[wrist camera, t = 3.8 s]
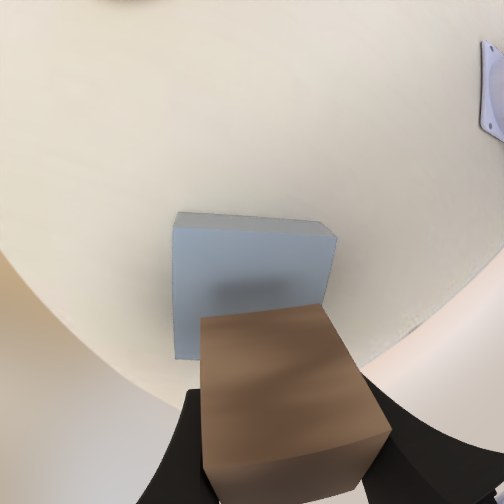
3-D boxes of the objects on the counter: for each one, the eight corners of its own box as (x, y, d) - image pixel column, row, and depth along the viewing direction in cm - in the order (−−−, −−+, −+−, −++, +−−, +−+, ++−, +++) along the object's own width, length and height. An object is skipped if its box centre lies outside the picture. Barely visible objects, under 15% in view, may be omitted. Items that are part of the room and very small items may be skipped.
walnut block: (319, 303, 11) (392, 429, 6) (311, 381, 13) (354, 489, 7) (200, 317, 11) (202, 468, 5) (215, 395, 12) (226, 514, 7)
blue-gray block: (317, 220, 17) (337, 237, 15) (294, 330, 20) (306, 358, 18) (179, 210, 16) (173, 227, 13) (178, 328, 19) (175, 359, 16)
